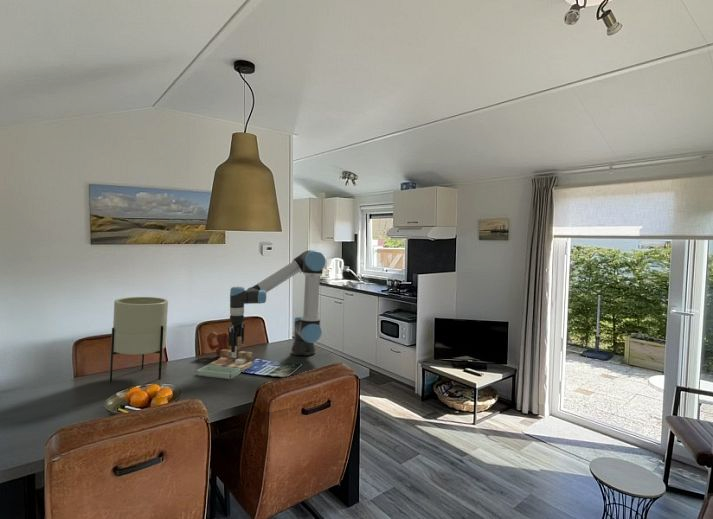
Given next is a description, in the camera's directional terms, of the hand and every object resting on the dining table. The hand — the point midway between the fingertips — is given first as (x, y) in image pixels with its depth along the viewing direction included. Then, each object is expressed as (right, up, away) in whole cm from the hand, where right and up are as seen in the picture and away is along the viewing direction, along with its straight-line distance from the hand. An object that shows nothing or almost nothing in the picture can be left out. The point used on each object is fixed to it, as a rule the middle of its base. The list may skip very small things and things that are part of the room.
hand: (236, 356), depth 220 cm
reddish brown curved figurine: (-15, -4, +17) cm, 23 cm away
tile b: (-6, -2, -4) cm, 8 cm away
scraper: (0, -1, 0) cm, 1 cm away
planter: (-41, -5, -22) cm, 47 cm away
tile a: (+4, -2, -5) cm, 7 cm away
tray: (-4, -5, -16) cm, 17 cm away
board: (-1, -5, -5) cm, 8 cm away
